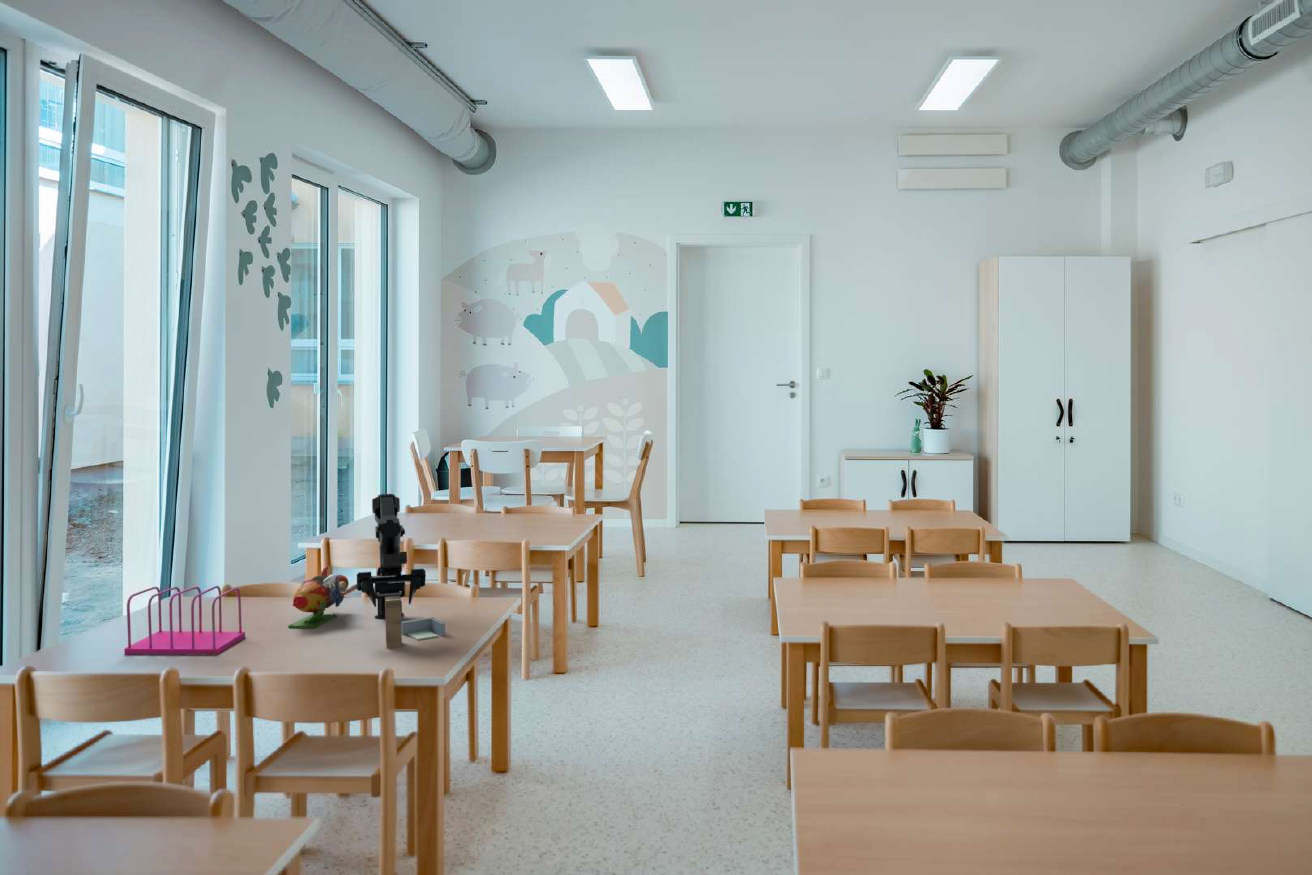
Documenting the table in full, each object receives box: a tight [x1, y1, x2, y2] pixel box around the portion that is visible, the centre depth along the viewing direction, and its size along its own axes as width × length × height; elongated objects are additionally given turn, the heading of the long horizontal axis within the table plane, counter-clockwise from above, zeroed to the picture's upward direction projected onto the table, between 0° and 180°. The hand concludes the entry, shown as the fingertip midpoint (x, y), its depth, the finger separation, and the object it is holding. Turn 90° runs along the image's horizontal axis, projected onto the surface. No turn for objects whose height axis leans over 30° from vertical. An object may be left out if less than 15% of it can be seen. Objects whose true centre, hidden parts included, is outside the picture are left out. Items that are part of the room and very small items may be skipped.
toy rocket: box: [287, 565, 347, 630], centre depth 291 cm, size 14×25×15 cm, turn 172°
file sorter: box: [123, 585, 246, 655], centre depth 265 cm, size 17×25×16 cm
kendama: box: [336, 574, 350, 590], centre depth 325 cm, size 8×6×18 cm
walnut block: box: [385, 596, 403, 649], centre depth 265 cm, size 5×4×13 cm
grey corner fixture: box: [401, 616, 446, 641], centre depth 276 cm, size 9×10×4 cm
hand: (392, 604), depth 268 cm, fingers open, 9 cm apart
